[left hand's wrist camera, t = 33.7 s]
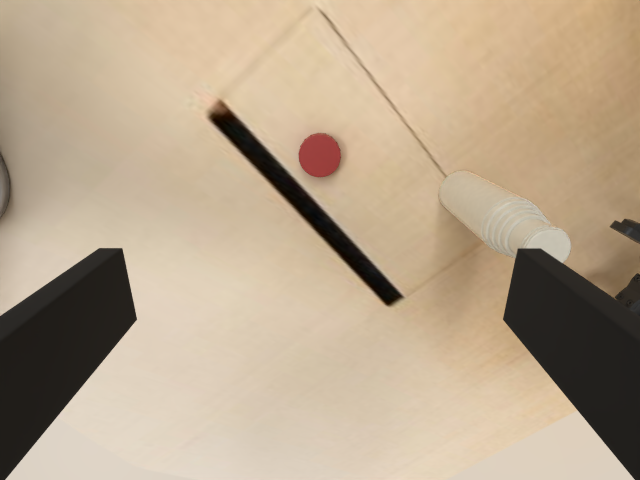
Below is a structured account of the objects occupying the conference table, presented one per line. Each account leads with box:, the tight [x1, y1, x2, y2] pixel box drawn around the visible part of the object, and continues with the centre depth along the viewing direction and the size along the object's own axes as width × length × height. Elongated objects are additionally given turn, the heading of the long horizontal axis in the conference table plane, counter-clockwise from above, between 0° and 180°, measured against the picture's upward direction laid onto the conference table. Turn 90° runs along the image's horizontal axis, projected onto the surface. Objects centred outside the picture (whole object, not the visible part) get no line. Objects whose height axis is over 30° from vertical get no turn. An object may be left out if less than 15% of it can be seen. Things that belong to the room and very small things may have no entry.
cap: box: [299, 133, 341, 177], centre depth 41 cm, size 4×5×2 cm
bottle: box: [439, 170, 571, 263], centre depth 35 cm, size 5×5×18 cm
